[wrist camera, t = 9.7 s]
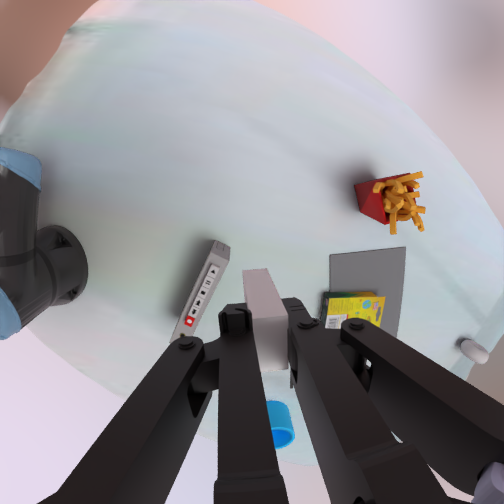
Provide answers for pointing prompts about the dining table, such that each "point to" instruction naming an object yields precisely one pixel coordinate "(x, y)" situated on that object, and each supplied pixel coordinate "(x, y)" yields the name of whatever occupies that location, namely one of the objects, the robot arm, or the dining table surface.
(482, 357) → the donut
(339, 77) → the dining table surface
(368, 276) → the mat
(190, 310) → the cassette player
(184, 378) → the robot arm
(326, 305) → the crayon box
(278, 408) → the mug
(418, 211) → the french fries
